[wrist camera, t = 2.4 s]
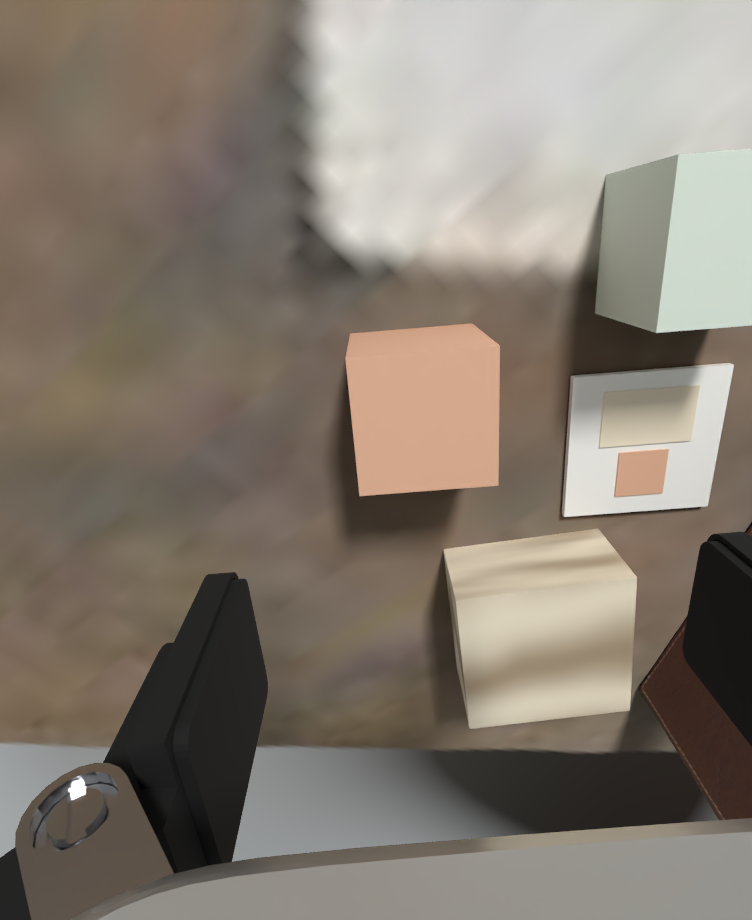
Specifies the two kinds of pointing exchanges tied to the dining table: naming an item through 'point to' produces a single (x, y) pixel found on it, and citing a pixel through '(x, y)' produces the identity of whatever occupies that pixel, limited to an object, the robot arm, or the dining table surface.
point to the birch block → (542, 627)
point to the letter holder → (701, 732)
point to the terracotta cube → (424, 408)
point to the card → (643, 439)
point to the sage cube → (678, 243)
